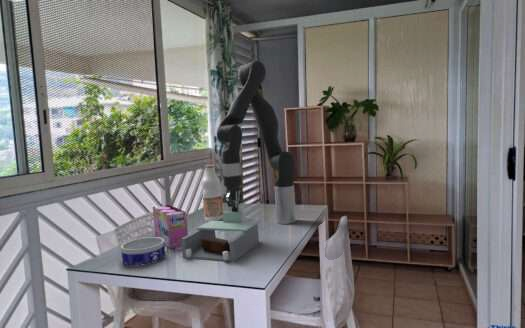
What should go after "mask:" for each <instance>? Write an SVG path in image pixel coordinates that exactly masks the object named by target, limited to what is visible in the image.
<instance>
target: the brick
mask: <svg viewBox="0 0 525 328" xmlns="http://www.w3.org/2000/svg"><path fill="white" fill-rule="evenodd" d="M202 247H203V250H204V251H207V252H211V253H217V254H222V255H223V252H224V251H228V252H230V246H229V241H228V239H224V238H218V237H216V238H215V237H207V238H204V239H202Z"/></svg>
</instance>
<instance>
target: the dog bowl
mask: <svg viewBox="0 0 525 328" xmlns="http://www.w3.org/2000/svg"><path fill="white" fill-rule="evenodd" d="M120 252H121V259H122V263H123V264H124V263H125V264H128V265H127V266H129V265H139V266H143V265H142V264H146V265H149V264H148V263H151V264H153V263H152V262H154V263H156V262H155V261H157V262H159V261H161V260H163V259H164V258H165V257H164V256H166V245H165V244H164V239H162V238H159V237H155V236H145V237H139V238H135V239H132V240H128V241H126V242H124V243H122V244H121V245H120ZM163 257H164V258H163ZM162 258H163V259H162ZM160 259H161V260H160ZM158 260H159V261H158ZM125 264H124V265H125Z"/></svg>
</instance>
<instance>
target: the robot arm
mask: <svg viewBox="0 0 525 328" xmlns="http://www.w3.org/2000/svg"><path fill="white" fill-rule="evenodd" d="M266 74H267V71H266V67H265V65H264V63H263V62H262V61H259V60H254V61H253V60H252V61H250V62H247V63H245V64H242V65H241V66H239V67H238V72H237V75H238V79H239V82H240V84H241V87H242V89H241V90H240V91H239V93H237V95H236V96H235V97H234V100H232V102H231V104H230V106H229V110H228V111H227V115H226V116H225V117H224V118H223V120H222V121H221V122H220V123H219V125H218V127H217V129H216V138H217V140H218V141H219V142H221V143H224V144H225V143H226V144H228V147H227V148H224V149H223V150H222V152H221V156H222V157H221V158H222V178H223V179H222V180H223V187H226V188H227V189H226V196H224V197H223V198H224V201H225V202H226V204H227V207H228V208H231V212H239V206H240V205H241V204H242V203H241V202H242V199H243V194H244V193H243V192H244V191H242V190H241V189H240V188H241V187H240V186H243V174H242V166H241V158H240V157H241V156H240V151H241V146H242V139H243V131H242V129H241V127H240V124H243V122H244V120H245V117H246V116H247V112H248V110H249V108H250V106H251V110H252V113H253V115H254V118H255V121H256V124H257V126H258V130H259V132H260V135H261V137H262V140H263V143H264V147H265V151H266V154H267V159H268V162H269V166H271V168H272V169H273V170H274V171H276V172H277V171H278V175H277V176H278V177H277V178H276V179H274V181H273V186H274V200H275V201H274V202H275V215H276V216H275V217H276V223H278V224H280V225H289V224H295V222H297V212H296V195H295V194H296V193H295V180H296V160H295V157H294V155H293V153H291V152H289V151H282V148H281V146H280V143H279V142H280V141H279V138H278V137H279V120H278V118H277V114H276V112H275V109H274V107H273V106H272V105H271V104H270V103H269V102H268V101H267V99H265V98H264V96H262V94H261V92H260V91H259V89H260V87H261V85H262V83H263V82H264V79H265V78H266Z"/></svg>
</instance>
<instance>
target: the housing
mask: <svg viewBox="0 0 525 328" xmlns="http://www.w3.org/2000/svg"><path fill="white" fill-rule="evenodd" d="M259 234H260V233H259V225H258V223H257V224H256V225H255V226H254V227H252V228H251V229H249V230H248V231H246V232H245V231H241V232H240V233H239V234H238V235H237V236H235V237H233V238H232V239H230V240H229V241H228V243H229V246H230V252H228V251H224V252H223V255H222V254H217V253H211V252H207V251H204V250H203V247H202V239H204V238H207V237H215V238H217V235H216V230H200V229H196V230H195V231H193V232H191V233H189V234H188V235H187V236H185V237H183V238H181V243H182V246H181V252H182V253H181V254H182V258H186V259H193V260H194V259H196V260H207V261H208V260H210V261H220V262H236V261H237V260H238V259H239V258H241V257H242V256H244V255H245V254H246V253H247V252H249V250H250V249H252V248H253V247H254V246H256V245H257V244H258V243H259V242H260V238H259V237H260V235H259Z"/></svg>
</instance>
